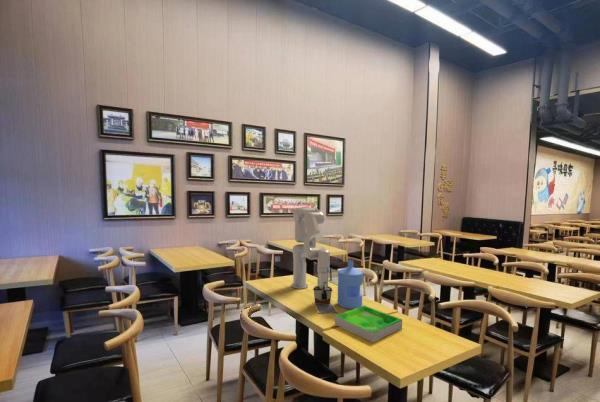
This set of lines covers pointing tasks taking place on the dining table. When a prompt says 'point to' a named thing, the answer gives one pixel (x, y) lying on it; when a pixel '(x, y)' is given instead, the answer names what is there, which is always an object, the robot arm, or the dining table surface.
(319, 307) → the mat
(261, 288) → the dining table surface
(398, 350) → the dining table surface
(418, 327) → the dining table surface
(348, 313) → the tray
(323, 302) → the food container
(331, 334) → the dining table surface
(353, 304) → the water jug
